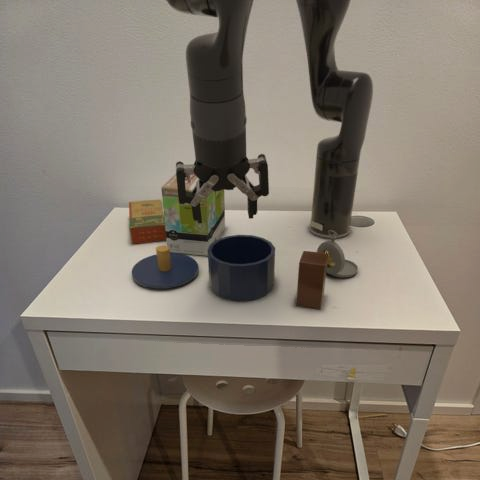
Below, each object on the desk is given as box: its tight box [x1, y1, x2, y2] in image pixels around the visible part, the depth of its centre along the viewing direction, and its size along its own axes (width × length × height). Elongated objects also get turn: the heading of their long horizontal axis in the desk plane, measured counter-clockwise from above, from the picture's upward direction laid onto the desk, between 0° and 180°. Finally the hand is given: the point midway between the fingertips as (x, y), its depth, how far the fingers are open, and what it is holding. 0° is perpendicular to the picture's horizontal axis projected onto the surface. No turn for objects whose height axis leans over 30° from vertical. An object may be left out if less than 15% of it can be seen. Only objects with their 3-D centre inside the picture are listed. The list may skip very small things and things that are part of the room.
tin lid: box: [131, 244, 200, 289], centre depth 87 cm, size 13×13×6 cm
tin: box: [207, 234, 276, 302], centre depth 83 cm, size 12×12×8 cm
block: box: [295, 250, 329, 310], centre depth 77 cm, size 4×4×9 cm
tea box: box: [160, 173, 226, 257], centre depth 97 cm, size 15×10×15 cm, turn 168°
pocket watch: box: [316, 230, 359, 278], centre depth 85 cm, size 8×8×10 cm
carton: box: [128, 199, 167, 245], centre depth 105 cm, size 8×16×4 cm, turn 12°
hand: (225, 218), depth 73 cm, fingers open, 8 cm apart
